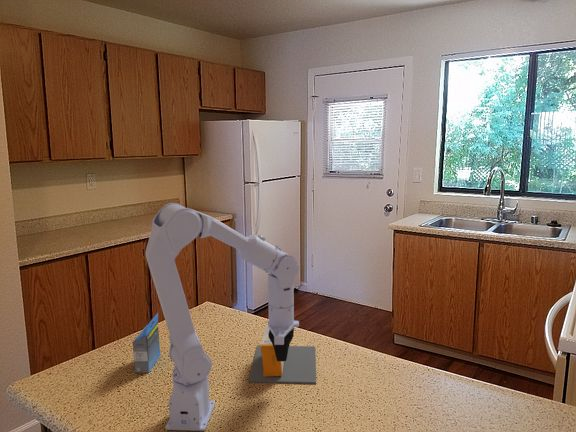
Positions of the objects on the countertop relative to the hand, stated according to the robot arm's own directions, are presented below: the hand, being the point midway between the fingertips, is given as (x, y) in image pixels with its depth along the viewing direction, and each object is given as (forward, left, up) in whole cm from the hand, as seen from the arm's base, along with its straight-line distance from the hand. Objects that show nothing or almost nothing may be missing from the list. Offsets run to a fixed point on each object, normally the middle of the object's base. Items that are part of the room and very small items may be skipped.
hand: (281, 359), depth 99 cm
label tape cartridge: (+8, +35, -7) cm, 37 cm away
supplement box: (+3, +3, -2) cm, 4 cm away
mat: (+10, 0, -6) cm, 12 cm away
